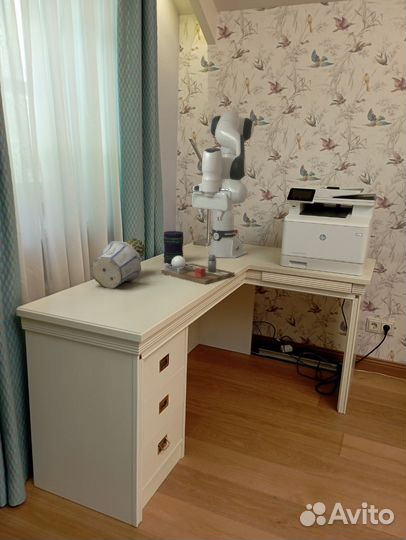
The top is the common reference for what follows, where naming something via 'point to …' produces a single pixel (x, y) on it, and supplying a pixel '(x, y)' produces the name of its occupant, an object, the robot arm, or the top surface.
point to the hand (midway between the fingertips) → (211, 219)
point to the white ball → (178, 262)
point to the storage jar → (172, 245)
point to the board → (200, 279)
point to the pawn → (212, 263)
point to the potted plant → (118, 263)
